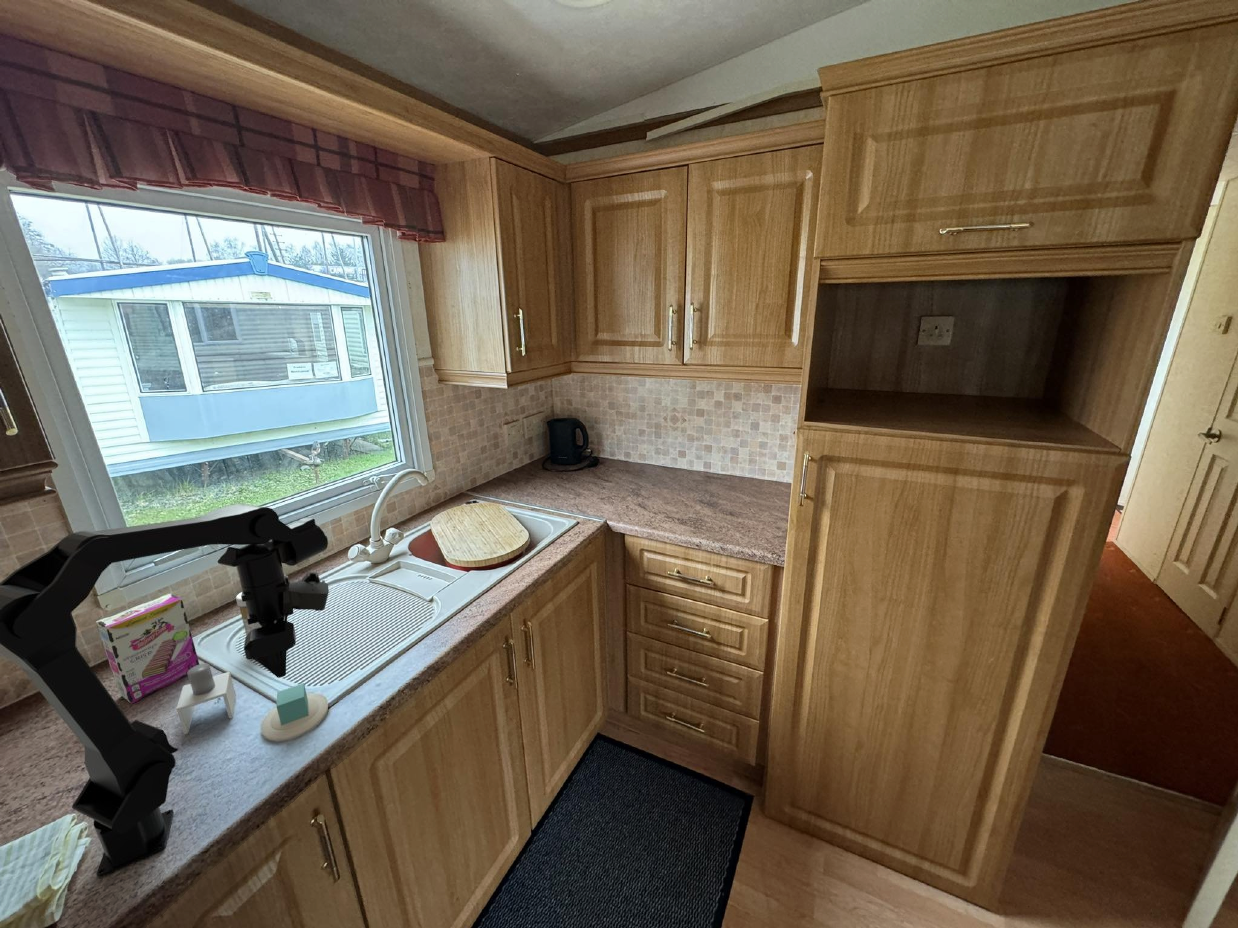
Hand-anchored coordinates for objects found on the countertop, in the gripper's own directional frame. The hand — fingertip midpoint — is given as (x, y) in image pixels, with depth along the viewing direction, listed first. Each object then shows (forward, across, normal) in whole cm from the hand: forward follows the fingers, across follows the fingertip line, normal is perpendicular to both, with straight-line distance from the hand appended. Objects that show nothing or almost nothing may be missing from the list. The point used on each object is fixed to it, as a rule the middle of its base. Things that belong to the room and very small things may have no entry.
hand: (282, 660), depth 83 cm
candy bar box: (+12, +26, +22) cm, 36 cm away
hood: (+12, +10, +13) cm, 20 cm away
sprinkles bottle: (+12, +28, +6) cm, 31 cm away
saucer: (+12, 0, 0) cm, 12 cm away
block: (+11, 0, 0) cm, 11 cm away
